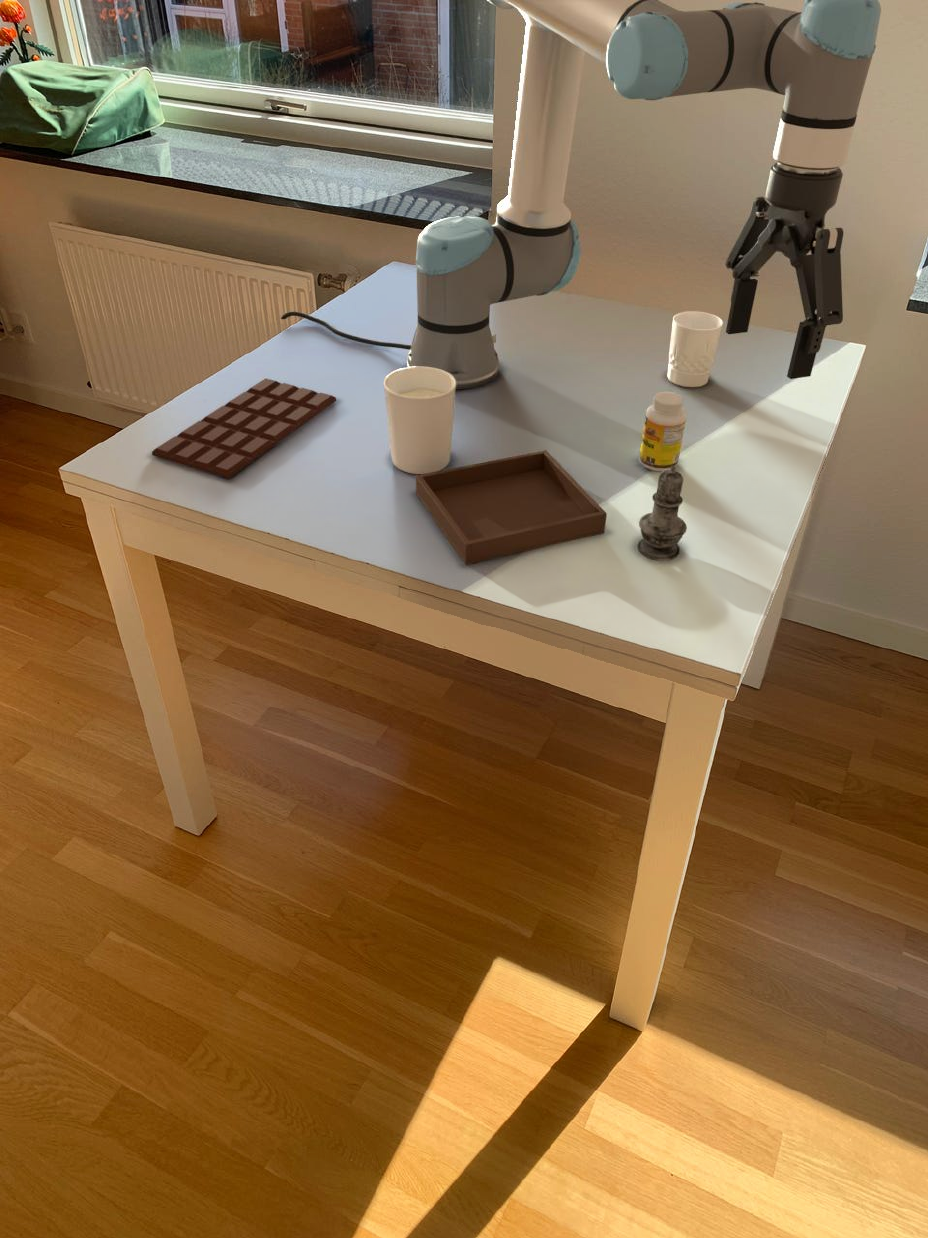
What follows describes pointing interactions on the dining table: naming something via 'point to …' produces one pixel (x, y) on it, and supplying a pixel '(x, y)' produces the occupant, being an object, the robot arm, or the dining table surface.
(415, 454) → the candle holder
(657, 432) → the supplement bottle
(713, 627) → the dining table surface
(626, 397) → the dining table surface
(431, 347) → the robot arm
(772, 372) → the dining table surface
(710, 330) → the white cup
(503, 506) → the tray
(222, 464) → the chocolate bar
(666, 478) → the salt shaker
